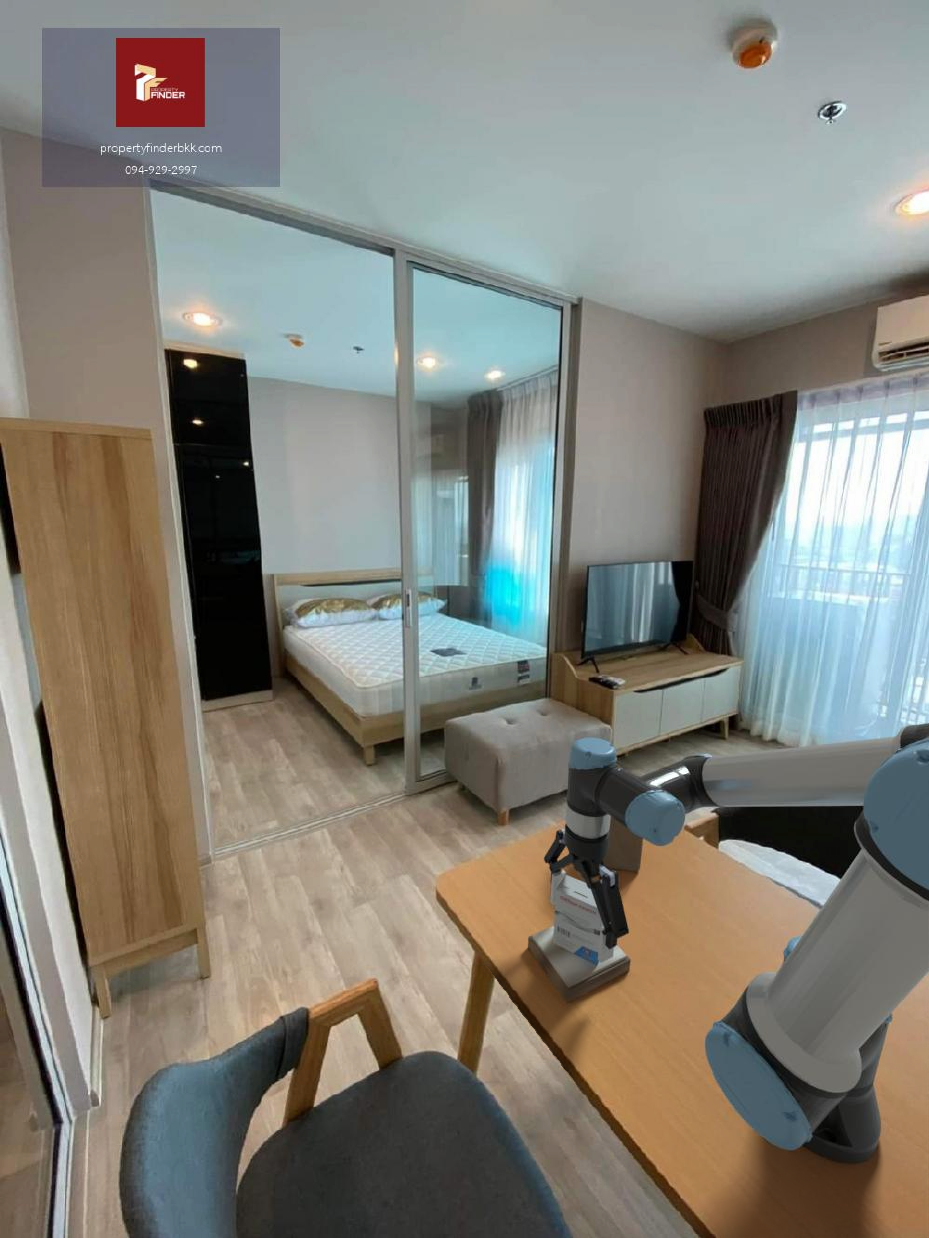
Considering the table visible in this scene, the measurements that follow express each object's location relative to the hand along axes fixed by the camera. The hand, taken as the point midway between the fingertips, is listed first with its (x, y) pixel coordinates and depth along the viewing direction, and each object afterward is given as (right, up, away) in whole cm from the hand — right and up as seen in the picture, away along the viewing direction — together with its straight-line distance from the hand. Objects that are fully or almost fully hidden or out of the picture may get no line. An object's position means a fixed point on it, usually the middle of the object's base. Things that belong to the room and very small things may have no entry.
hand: (579, 928), depth 90 cm
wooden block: (+15, -1, +29) cm, 32 cm away
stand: (0, -7, +1) cm, 7 cm away
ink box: (0, -4, +1) cm, 4 cm away
